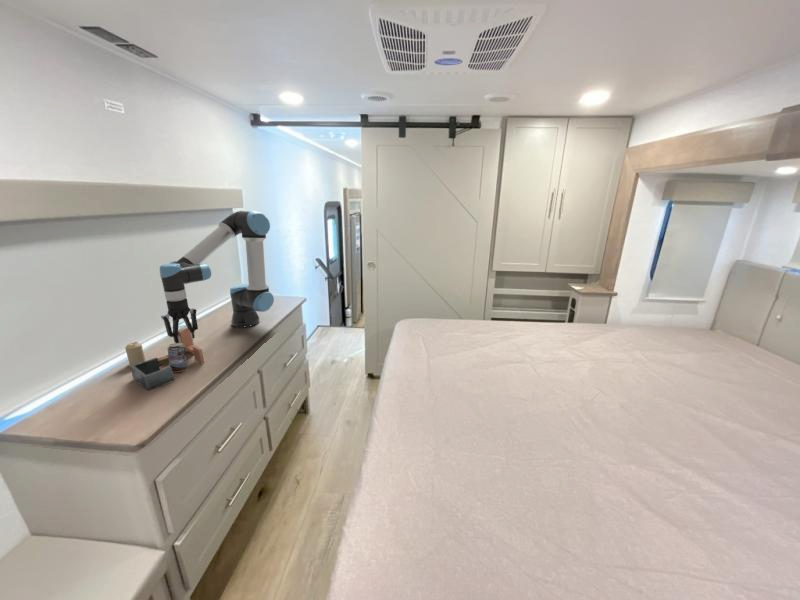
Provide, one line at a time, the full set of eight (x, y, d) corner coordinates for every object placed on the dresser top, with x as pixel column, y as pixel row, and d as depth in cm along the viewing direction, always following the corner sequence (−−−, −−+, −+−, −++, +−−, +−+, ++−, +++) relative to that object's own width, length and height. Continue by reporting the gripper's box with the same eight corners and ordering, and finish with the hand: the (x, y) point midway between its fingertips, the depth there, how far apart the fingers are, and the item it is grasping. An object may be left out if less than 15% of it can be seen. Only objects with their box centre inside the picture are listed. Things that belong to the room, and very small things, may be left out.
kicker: (190, 352, 148) (185, 327, 144) (207, 361, 140) (203, 336, 136) (181, 355, 145) (175, 330, 141) (198, 365, 136) (193, 339, 133)
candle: (144, 359, 142) (138, 339, 139) (147, 363, 138) (142, 342, 135) (128, 363, 137) (122, 343, 134) (131, 367, 134) (126, 346, 131)
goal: (159, 369, 133) (156, 357, 131) (174, 380, 126) (171, 367, 124) (133, 379, 126) (129, 366, 124) (147, 390, 119) (144, 377, 117)
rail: (191, 353, 148) (190, 347, 147) (194, 355, 146) (193, 349, 145) (151, 367, 135) (149, 360, 134) (154, 369, 133) (152, 363, 133)
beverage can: (168, 375, 129) (161, 349, 126) (175, 366, 136) (169, 341, 132) (185, 373, 131) (179, 347, 127) (191, 364, 138) (186, 340, 134)
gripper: (193, 293, 146) (201, 338, 153) (149, 302, 132) (161, 351, 139) (201, 296, 142) (209, 342, 149) (157, 305, 128) (168, 356, 135)
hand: (186, 346), depth 144 cm, fingers open, 4 cm apart
